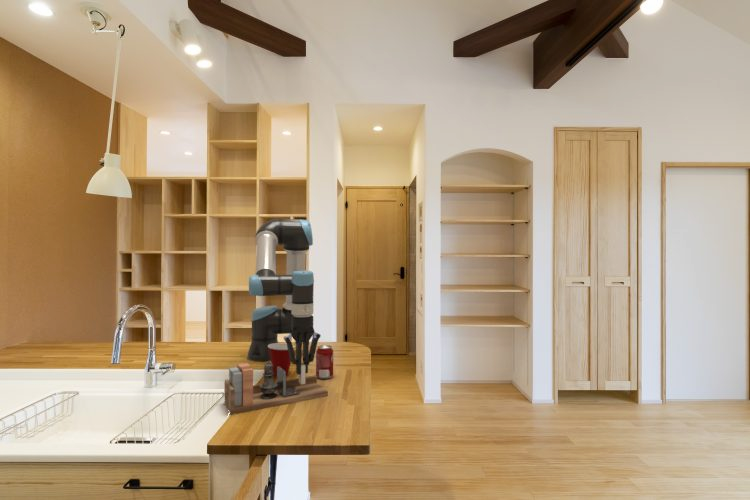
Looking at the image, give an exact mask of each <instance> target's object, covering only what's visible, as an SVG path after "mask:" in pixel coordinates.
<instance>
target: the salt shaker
mask: <svg viewBox="0 0 750 500" xmlns="http://www.w3.org/2000/svg"><path fill="white" fill-rule="evenodd" d="M263 370H264V371H263V372H264V373H263V382H262V383H260V384H261V385H260V384H259V385H260V388H261V392H262V393H264V394H262V395H261V396H260V397H261V398H262V399H272V398H275V397H276V396H277V394H275V393H274V392H275V391H276V389H277V386H278V384H277V383H274V382H275V381H274V373H273V364H272V363H271V361H267V363H265V364H264V366H263Z"/></svg>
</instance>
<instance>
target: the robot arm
mask: <svg viewBox="0 0 750 500" xmlns="http://www.w3.org/2000/svg"><path fill="white" fill-rule="evenodd" d="M313 241H314V239H313V231H312V225H311V222H310V221H309V220H307V219H300V218H298V219H297V218H296V219H295V218H294V219H293V218H291V219H289V218H285V219H283V218H280V219H279V218H274V219H270V220H268V221H266V222H264V223H263V224H262V225H261V226H260V227H259V228H258V229H257V230H256V233H255V236H254V243H255V246H256V256H255V257H256V259H255V271H254V272H255V274H251V275H250V276H249V278H248V293H249V295H250V296H252V297H253V296H255V297H256V296H257V297H268V296H269V297H270V296H285V302H284V303H283V304H282V308H279V307H278V305H268V306H267V305H266V306H260V307H258V308H255V309H254V310H252V312H251V320H250V321H251V342H250V345H249V348H248V350H247V356H246V357H247V360H249V361H253V362H268V361H270V362H271V357H270V351H269V348H268V345H269V344H273V343H279V340H278V335H283V334H285V336H283V340H284V341H285V342H284V343H286V344H287V347H288V352H289V356H290V360H291V364H293V365H295V368H296V369H295V373H296V374H297V376H298V378H299V383H300V384H301V385H302V384H305V377H306V374H308V373H309V365H310V363H313V362H314V359H315V356H316V351H317V348H318V346H317V345H318V342H319V340H320V338H321V334H320V333H318V332H316V331H315V329H314V316H313V314H314V285H315V279H314V272H313V271H311V270H306V260H307V259H306V258H307V257H306V256H307V254H306V253H307V252H308V251H310V247H311V246H313V244H314V243H313ZM276 246H282V247H283V248H282V249H283V250H284V251H285V253H286V272H285V274H277V272H276V271H277V267H276V266H277V264H276V263H277V261H276V260H277V257H276V255H277V253H276V251H277V250H276ZM311 338H312V339H311ZM292 340H294V343H295V349H294V350H293V345H294V344H293V343H292ZM310 340H311V343H310ZM309 345H310V347H309Z"/></svg>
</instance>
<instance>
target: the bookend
mask: <svg viewBox="0 0 750 500" xmlns="http://www.w3.org/2000/svg"><path fill="white" fill-rule="evenodd" d="M286 378H287V376H286V372H285V371H284V370H283V369H282V368H281V367H277V377H276V382H277V384H278V386H277V391H278V392H279V393H280V394H281V395H282V396H289V395H294V394H300V392H299V391H298V390H297V389H296V388H295V387H294V386H290V387H286V380H287V379H286Z"/></svg>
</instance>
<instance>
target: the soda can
mask: <svg viewBox="0 0 750 500" xmlns="http://www.w3.org/2000/svg"><path fill="white" fill-rule="evenodd" d="M332 347H333V346H332V345H330V344H322V345H318V346H317V348H316V351H315V375H316V376H317V379H320V380H327V379H330V378H332V377H333V376H334V349H333V348H332Z"/></svg>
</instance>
